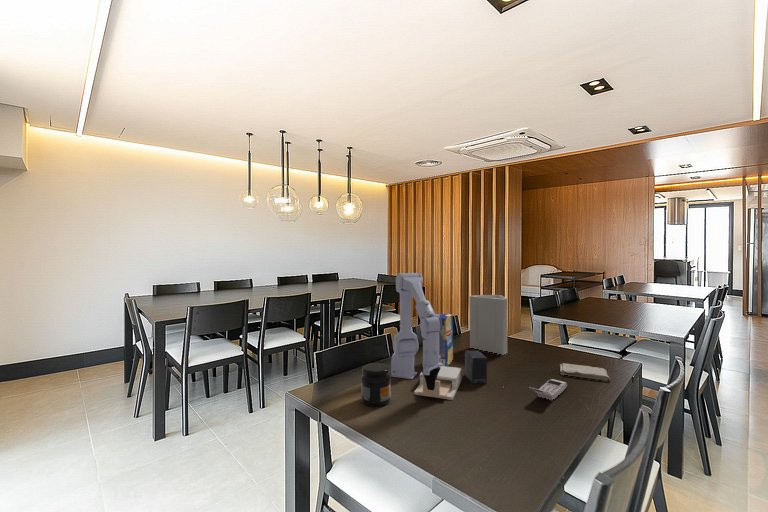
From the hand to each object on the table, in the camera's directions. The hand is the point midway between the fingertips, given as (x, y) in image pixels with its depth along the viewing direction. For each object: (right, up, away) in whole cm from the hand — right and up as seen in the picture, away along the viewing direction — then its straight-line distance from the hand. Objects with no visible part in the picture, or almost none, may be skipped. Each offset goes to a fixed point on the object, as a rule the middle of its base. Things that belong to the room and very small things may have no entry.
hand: (431, 388), depth 126 cm
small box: (+21, -4, +20) cm, 29 cm away
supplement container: (-20, -4, -1) cm, 20 cm away
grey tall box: (+41, -3, +64) cm, 76 cm away
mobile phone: (+44, -4, +4) cm, 44 cm away
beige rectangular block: (+3, -2, +7) cm, 8 cm away
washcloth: (+68, -4, +25) cm, 72 cm away
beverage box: (+11, -3, +41) cm, 43 cm away
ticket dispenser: (+5, -4, +12) cm, 13 cm away
